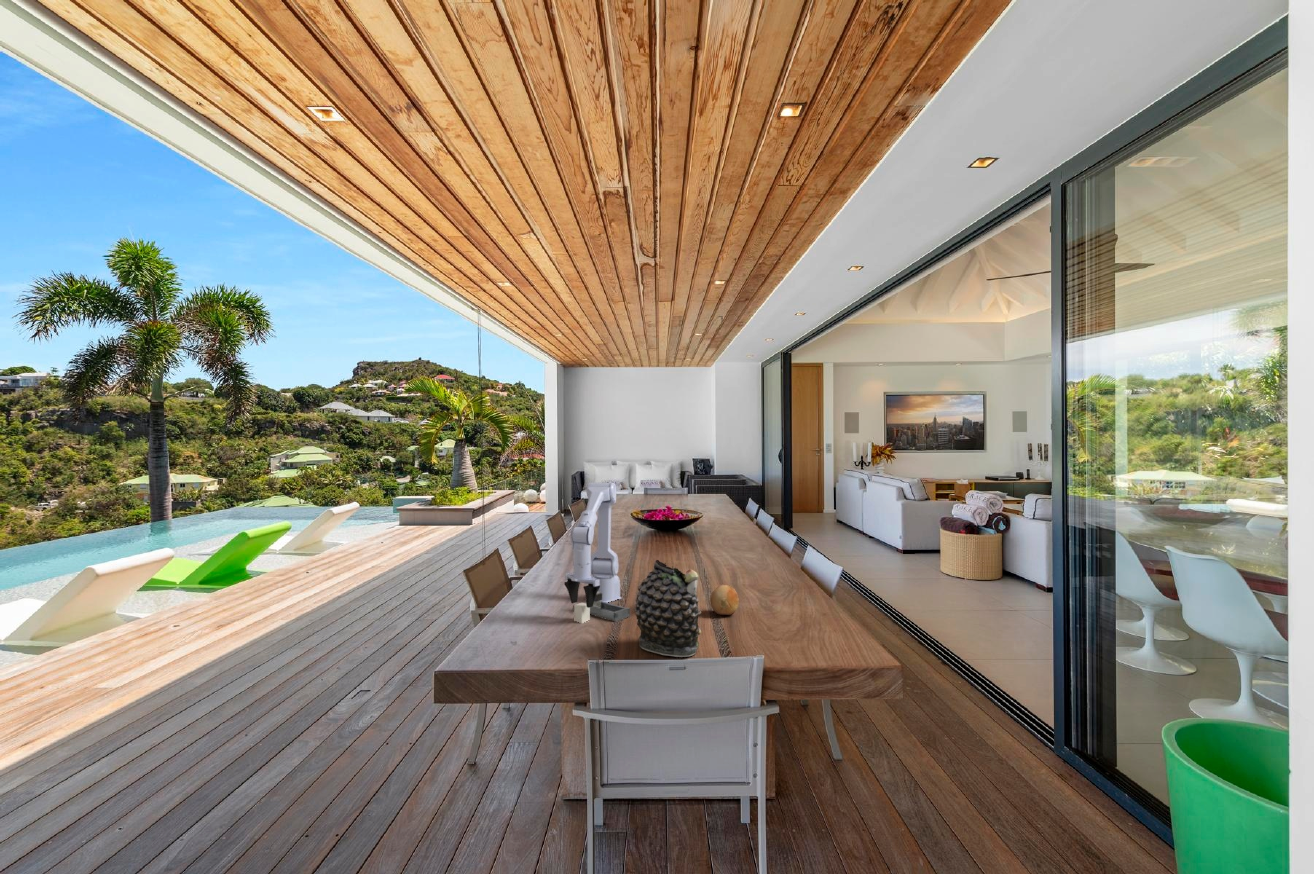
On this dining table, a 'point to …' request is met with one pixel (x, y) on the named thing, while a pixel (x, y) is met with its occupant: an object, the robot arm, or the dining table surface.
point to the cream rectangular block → (581, 612)
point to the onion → (724, 600)
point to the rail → (608, 609)
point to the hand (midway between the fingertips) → (581, 604)
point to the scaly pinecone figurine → (668, 611)
